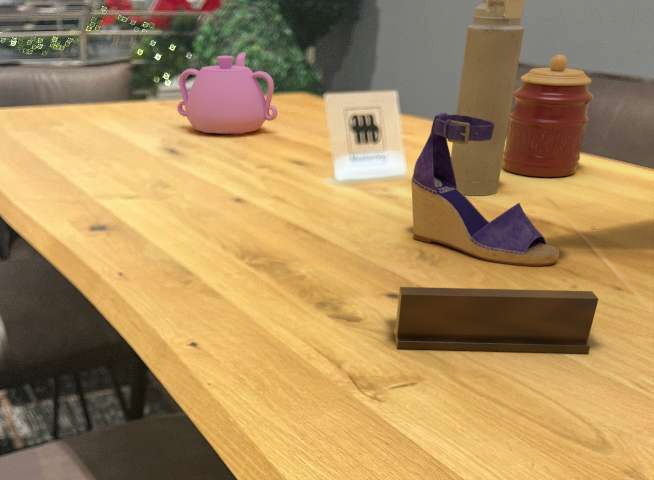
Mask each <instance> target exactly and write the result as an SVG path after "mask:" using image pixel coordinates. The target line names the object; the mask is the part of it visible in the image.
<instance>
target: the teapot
mask: <svg viewBox="0 0 654 480" xmlns="http://www.w3.org/2000/svg"><path fill="white" fill-rule="evenodd" d="M246 57H247V53H246V52H245V51H242V52H239V54H237V56H236V60H235V57H234V56H233V55H218V56H216V60H217V63H218V65H207V66H203V67H201V68H200V69H199V70H198V69H196V68H187V69H185V70H184V71H183V72H182V73H181V74H180V75H179V79H178V85H179V86H178V87H179V91H180V95H181V97H182V100H181V101H179V102H178V104H177V107H176V109H177V113H178V114H179V115H180V116H182V117H186V119H187V120H188V122H189V124H191V126H192V127H193V128H194V129H195V130H197V131H199V132H202V133H203V134H231V135H232V136H233V135H234V136H242V135H245V134H244V133H250V132H255V131H258V130H259V129H261V127H262V126H263V124H264V123H265V122H266V121H269V122H270V121H274V120H276V118H277V117H278V109H277V106H275V105H271V104H272V99H273V95H274V90H275V84H274V80H273V78H272V76H271V75H270V74H269V73H268V72H265V71H264V70H263V71H262V70H257V71H254V72H253V70H252V69H251V68H250V67H248V66H246V65H245V62H246ZM234 60H235V62H234ZM233 63H235V64H234V65H233ZM189 75H192V76H196V77H195V79H194V80H193V83H192V84H191V88H190V89H189V92H188V90H187V85H186V79H187V77H188V76H189ZM257 78H263V79H265V81H266V82H267V93H266V96H265V93H264V91H263V89H262V87H261V84H260V83H259V81H258V79H257ZM183 106H184V109H185V110H184V109H183ZM270 110H271V111H272V114H270Z"/></svg>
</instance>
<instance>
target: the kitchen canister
mask: <svg viewBox="0 0 654 480" xmlns="http://www.w3.org/2000/svg"><path fill="white" fill-rule="evenodd" d="M567 66H568V58H567V56H566V55H564V54H556V55H553V57H552V58H551V60H550V64H549V67H535V68H532V69H530V70H529V71H528V72H527V73H525V74H523V75H521V76H520V81H521V82H522V83H521V85H520V87H519V88H517V89H515V90H514V93H513V99H514V104H513V108H512V111H510V117H509V123H508V129H507V135H506V141H505V148H504V154H503V160H502V169H504V170H505V171H508V172H509V173H513V174H517V175H522V176H529V177H530V176H531V177H538V178H539V177H541V178H558V177H566V176H570V175H573V174H575V173H576V171H577V168H578V166H579V165H580V160H581V151H582V146H583V141H584V138H585V137H584V136H585V133H586V128H587V124H588V121H589V117H588V116H587V115H588V108H589V104H590V102H592V101H593V100H594V95H593V94H592V93H591V92H590V91H589V87H588V85H590V84H592V79H591V78H590V77H589V76H587V74H586V72H584V71H583V70H580V69H575V68H567Z"/></svg>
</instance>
